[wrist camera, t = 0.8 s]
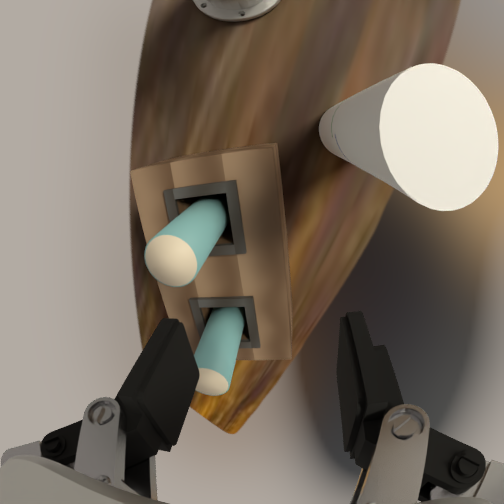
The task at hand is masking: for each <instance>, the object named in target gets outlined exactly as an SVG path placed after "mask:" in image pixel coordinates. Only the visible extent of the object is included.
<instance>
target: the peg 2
mask: <svg viewBox="0 0 504 504" xmlns="http://www.w3.org/2000/svg"><path fill="white" fill-rule="evenodd" d="M245 319H246V313H245V307H213V310H212V312H211V315H210V317H209V319H208V322H207V324H206V327H205V329H204V332H203V334H202V337H201V339H200V342H199V344H198V347H197V349H196V352H195V354H194V357H195V360H196V363H197V366H198V369H199V373H200V376H199V380H198V383H197V386H196V389H195V390H196V391H198V392H200V393H203V394H206V395H214V396H215V395H222V394H224V393H226V392H227V391H228V389H229V387H230V382H231V378H232V374H233V370H234V366H235V361H236V357H237V353H238V349H239V345H240V340H241V336H242V332H243V328H244V323H245Z"/></svg>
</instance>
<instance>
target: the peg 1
mask: <svg viewBox="0 0 504 504" xmlns="http://www.w3.org/2000/svg"><path fill="white" fill-rule="evenodd" d="M229 222H230V215H229V209H228V203H227V199H226V198H225V197H224V196H222V195H220V194H212V195H204V196H202V197H201V198H199V199H198V200H197V201H196V202H194V203H193V204H192V205H191V206H189V207H188V208H187V209H186V210H185V211H183V212H182V213H181V214H180V215H179V216H177V217H176V218H175V219H174V220H173V221H171V222H170V223H169V224H168V225H167V226H166V227H164V228H163V229H162V230H161V231H160V232H159V233H157V234H156V235H155V236H154V237H153V238H152V239H151V240H150V241H149V242H148V243H147V245H146V248H145V252H144V258H145V263H146V266H147V268H148V270H149V272H150V273H151V274H152V276H153V277H154V278H155V279H157V280H158V281H159V282H161V283H163V284H165V285H167V286H171V287H182V286H185V285H187V284H189V283H191V282H192V281H193V280H194V278H195V277H196V275H197V274H198V272H199V270H200V269H201V267H202V265H203V264H204V262H205V260H206V259H207V257H208V256H209V254H210V252H211V251H212V249H213V247H214V246H215V244H216V243H217V241H218V239H219V238H220V236H221V234H222V233H223V231H224V230H225V228H226V226H227V225H228V223H229Z"/></svg>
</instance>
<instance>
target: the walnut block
mask: <svg viewBox="0 0 504 504" xmlns="http://www.w3.org/2000/svg"><path fill="white" fill-rule="evenodd" d="M130 173H131V178H132V183H133V188H134V192H135V197H136V202H137V206H138V210H139V215H140V219H141V223H142V227H143V231H144V235H145V239H146V243H148V242H149V241H150V240H151V239H152V238H153V237H154V236H155V235H156V234H157V233H159V232H160V231H161V230H162V229H163V228H164V227H166V226H167V225H168V224H169V223H170V222H171V221H173V220H174V219H175V218H176V217H177V216H179V215H180V214H181V213H182V212H183V211H185V210H186V209H187V208H188V207H189V206H191V205H192V204H193V203H194V202H196V201H197V200H198V199H199V198H201V197H202V196H204V195H212V194H220V193H226V196H227V203H228V209H229V215H230V222H229V223H228V225H227V226H226V228H225V230H224V231H223V233H222V234H221V236H220V238H219V239H218V241H217V243H216V244H215V246H214V247H213V249H212V251H211V252H210V254H209V256H208V257H207V259H206V260H205V262H204V264H203V265H202V267H201V269H200V270H199V272H198V274H197V275H196V277H195V278H194V280H193V281H192V282H191V283H189V284H187V285H185V286H182V287H171V286H167V285H165V284H163V283H161V282H159V281H158V280H157V282H158V286H159V289H160V292H161V295H162V299H163V302H164V305H165V308H166V311H167V314H168V317H169V318H174V319H178V320H179V322H182V323H183V325H184V327H185V330H186V334H187V337H188V340H189V343H190V346H191V349H192V352H193V354H195V352H196V349H197V347H198V344H199V342H200V339H201V337H202V334H203V332H204V329H205V327H206V324H207V322H208V319H209V317H210V315H211V312H212V310H213V307H245V313H246V319H245V323H244V328H243V332H242V336H241V340H240V345H239V349H238V353H237V357H236V360H285V359H292V293H291V279H290V266H289V254H288V242H287V231H286V220H285V209H284V199H283V190H282V180H281V171H280V162H279V153H278V145H277V143H270V144H261V145H252V146H244V147H236V148H229V149H222V150H215V151H209V152H203V153H197V154H191V155H185V156H180V157H175V158H171V159H168V160H164V161H161V162H157V163H154V164H151V165H148V166H144V167H141V168H138V169H135V170H132V171H130Z"/></svg>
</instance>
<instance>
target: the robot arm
mask: <svg viewBox="0 0 504 504" xmlns="http://www.w3.org/2000/svg"><path fill="white" fill-rule="evenodd" d="M193 1H194V3H195V5H196V6H197V7H198V8H199V10H200V11H202V12H203V13H204V14H205V15H207V16H209V17H211V18H214V19H217V20H221V21H228V22H238V21H246V20H250V19H254V18H257V17H259V16H262V15H264V14H266V13H267V12H269V11H271V10H272V9H273V8H274V7H275V6H277V4H278V3H279V2H280V1H281V0H193ZM204 7H205V8H204ZM242 15H244V16H242ZM199 376H200V373H199V369H198V366H197V363H196V360H195V357H194V354H193V352H192V349H191V346H190V343H189V340H188V337H187V334H186V330H185V327H184V325H183V323H182V322H179V320H178V319H174V318H163V319H162V320H161V321H160V323H159V325H158V326H157V328H156V329H155V331H154V333H153V334H152V336H151V338H150V339H149V341H148V343H147V344H146V346H145V348H144V349H143V351H142V353H141V355H140V356H139V358H138V360H137V361H136V363H135V365H134V366H133V368H132V370H131V372H130V373H129V375H128V377H127V378H126V380H125V382H124V384H123V385H122V387H121V389H120V390H119V392H118V394H117V396H116V398H115V399H112V398H107V397H103V398H99V399H96V400H94V401H93V402H91V403H90V404H89V405H88V406H87V408H86V410H85V412H84V416H83V420H81V421H78V422H76V423H73V424H71V425H68V426H66V427H63V428H61V429H58V430H55V431H53V432H51V433H49V434H47V435H46V436H45V437H44V439H43V440H42V442H40V441H36V442H33V443H29V444H26V445H22V446H19V447H15V448H11V449H8V450H6V451H5V452H4V453H3V456H2V459H1V468H0V504H168V503H164V502H160V501H158V500H157V485H156V465H155V455H156V454H157V452H158V450H163V451H168V452H170V450H171V447H172V445H173V446H174V445H176V443H177V441H178V438H179V435H180V432H181V429H182V426H183V424H184V420H185V418H186V415H187V412H188V409H189V406H190V403H191V400H192V398H193V395H194V392H195V389H196V386H197V383H198V380H199ZM337 383H338V391H339V400H340V409H341V419H342V430H343V442H344V451H345V452H348V451H350V459H353V458H355V463H356V464H357V465H358V466H360V467H361V468H362V470H361V473H360V476H359V479H358V482H357V485H356V488H355V491H354V493H353V496H352V499H351V501H350V504H504V464H503V463H500V462H497V461H494V460H492V461H491V462H488V461H485V458H484V456H483V455H482V453H481V452H480V451H478V450H477V449H475V448H473V447H471V446H468V445H466V444H463V443H462V442H459V441H457V440H455V439H453V438H451V437H449V436H447V435H444V434H442V433H440V432H438V431H436V430H434V429H432V428H430V423H429V418H428V415H427V414H426V412H425V411H424V410H423V409H421V408H419V407H418V406H415V405H410V404H404V403H403V399H402V396H401V392H400V389H399V386H398V382H397V379H396V376H395V373H394V370H393V367H392V364H391V361H390V358H389V355H388V352H387V349H386V347H385V346H384V345H380V346H373V344H372V341H371V338H370V334H369V331H368V329H367V325H366V322H365V319H364V316H363V313H362V312H361V311H359V312H347V313H346V317H341V318H340V334H339V348H338V360H337ZM418 500H419V501H421V502H419V503H417V501H418Z"/></svg>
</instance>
